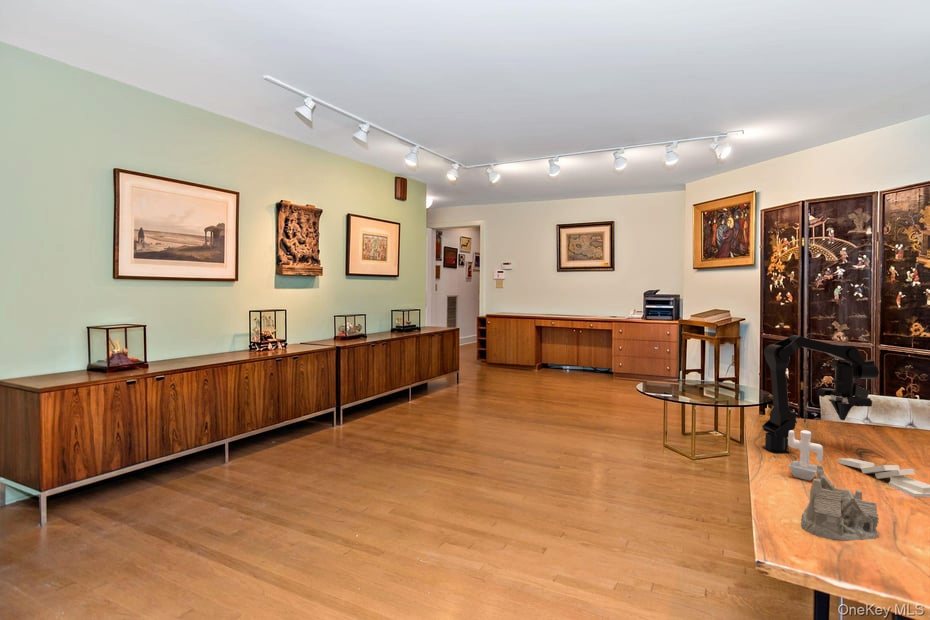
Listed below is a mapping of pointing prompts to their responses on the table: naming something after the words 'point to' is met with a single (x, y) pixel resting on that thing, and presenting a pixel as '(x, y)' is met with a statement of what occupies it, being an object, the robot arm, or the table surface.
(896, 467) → the domino
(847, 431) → the table surface
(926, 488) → the domino
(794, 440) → the figurine
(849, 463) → the domino
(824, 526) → the ceramic cottage
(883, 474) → the domino
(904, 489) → the domino
